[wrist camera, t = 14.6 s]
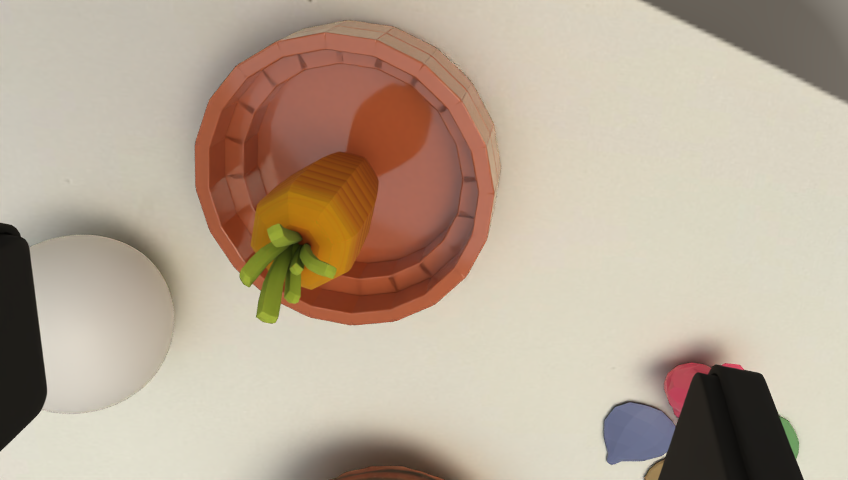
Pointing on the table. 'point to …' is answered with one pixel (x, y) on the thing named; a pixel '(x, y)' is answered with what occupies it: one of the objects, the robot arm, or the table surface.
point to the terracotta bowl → (364, 136)
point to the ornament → (98, 321)
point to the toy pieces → (658, 423)
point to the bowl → (386, 474)
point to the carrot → (310, 229)
